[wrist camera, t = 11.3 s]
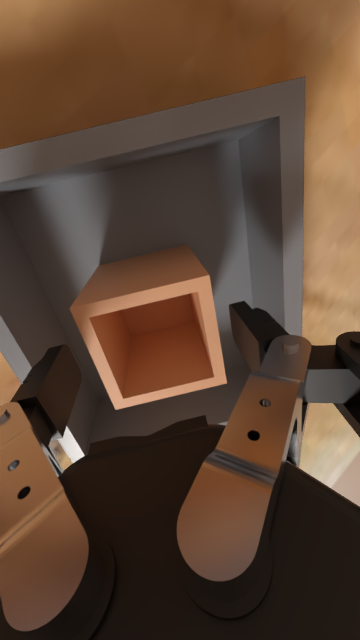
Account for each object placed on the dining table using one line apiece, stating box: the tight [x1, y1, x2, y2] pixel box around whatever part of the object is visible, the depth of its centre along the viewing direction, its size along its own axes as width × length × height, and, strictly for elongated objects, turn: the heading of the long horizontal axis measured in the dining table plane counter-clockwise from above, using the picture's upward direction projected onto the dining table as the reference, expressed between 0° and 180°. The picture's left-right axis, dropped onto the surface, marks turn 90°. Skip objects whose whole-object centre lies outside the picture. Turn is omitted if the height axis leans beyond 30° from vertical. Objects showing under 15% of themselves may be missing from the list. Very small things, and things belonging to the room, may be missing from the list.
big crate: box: [0, 77, 305, 463], centre depth 16 cm, size 18×16×6 cm
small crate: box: [70, 245, 227, 410], centre depth 15 cm, size 6×6×7 cm
